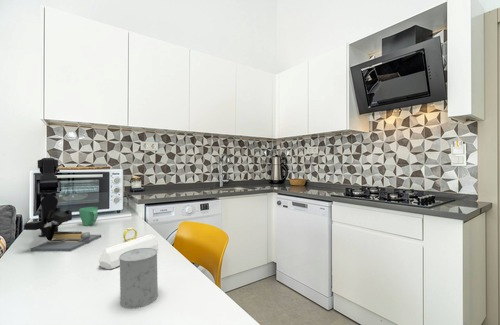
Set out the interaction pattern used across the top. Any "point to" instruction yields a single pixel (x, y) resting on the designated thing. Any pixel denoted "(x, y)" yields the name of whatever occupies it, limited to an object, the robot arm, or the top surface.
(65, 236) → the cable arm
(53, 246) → the panel
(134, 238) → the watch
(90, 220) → the mug
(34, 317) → the top surface
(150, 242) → the white long bar
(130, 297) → the grey concrete cylinder
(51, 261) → the top surface
